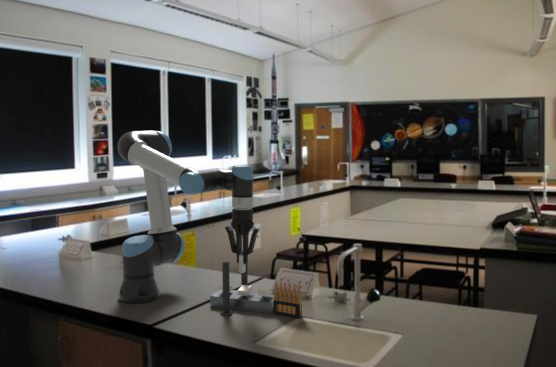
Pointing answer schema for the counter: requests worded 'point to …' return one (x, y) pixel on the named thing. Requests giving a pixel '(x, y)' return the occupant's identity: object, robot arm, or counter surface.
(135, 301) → the robot arm
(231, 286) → the paddle left
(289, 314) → the ammunition clip
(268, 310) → the breaker panel
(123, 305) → the counter surface
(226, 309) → the cord post near
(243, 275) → the cord post far
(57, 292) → the counter surface
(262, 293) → the paddle right
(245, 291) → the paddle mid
